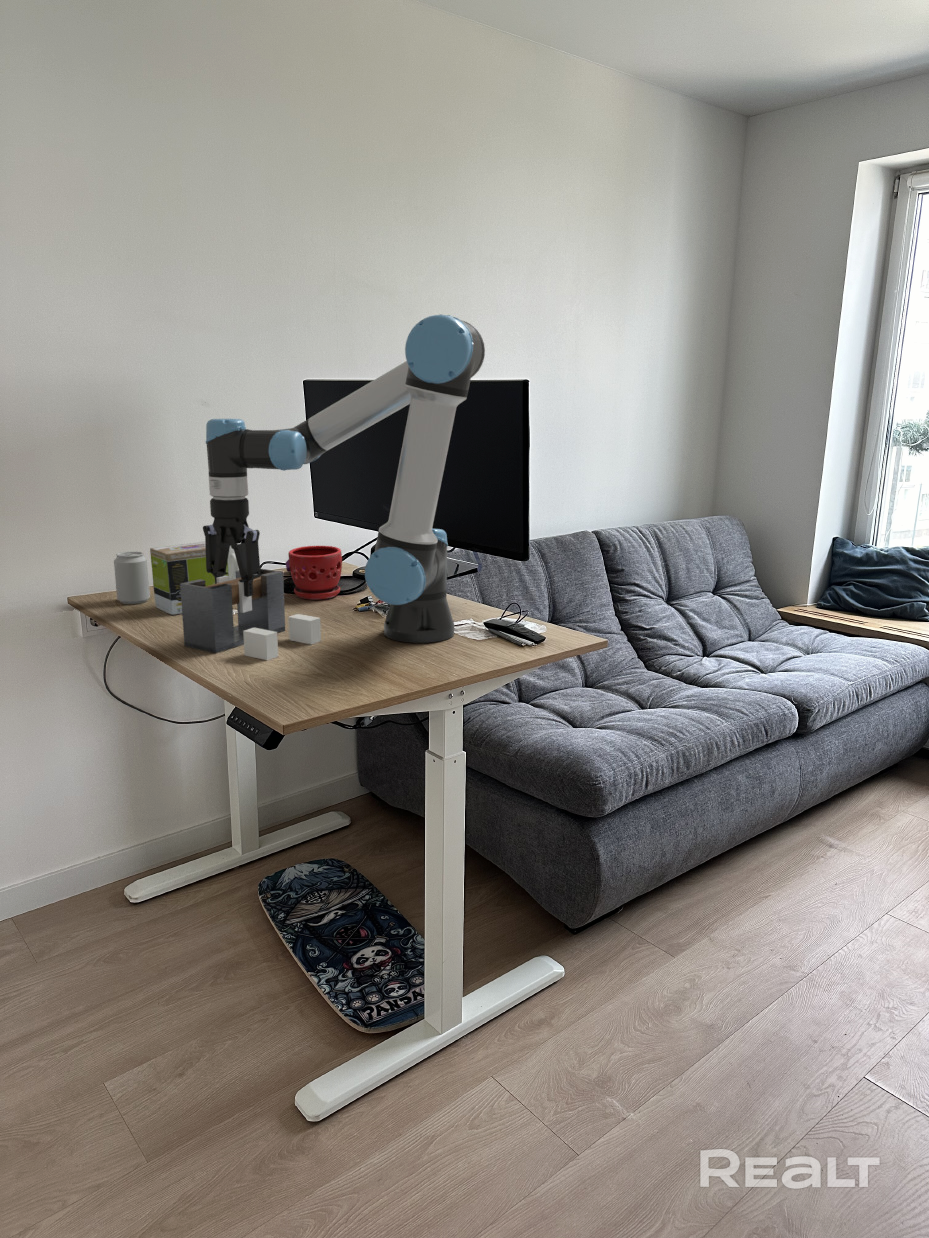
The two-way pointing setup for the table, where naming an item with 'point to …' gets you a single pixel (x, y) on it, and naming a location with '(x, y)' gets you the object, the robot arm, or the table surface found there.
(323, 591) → the plant pot
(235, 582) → the rail
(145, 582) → the can
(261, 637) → the blocks
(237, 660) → the table surface
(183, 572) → the tea box
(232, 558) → the mug
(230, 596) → the brackets
